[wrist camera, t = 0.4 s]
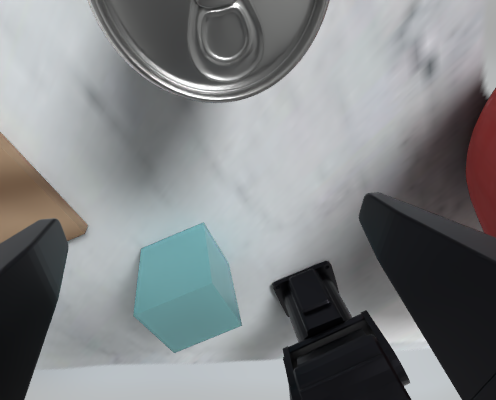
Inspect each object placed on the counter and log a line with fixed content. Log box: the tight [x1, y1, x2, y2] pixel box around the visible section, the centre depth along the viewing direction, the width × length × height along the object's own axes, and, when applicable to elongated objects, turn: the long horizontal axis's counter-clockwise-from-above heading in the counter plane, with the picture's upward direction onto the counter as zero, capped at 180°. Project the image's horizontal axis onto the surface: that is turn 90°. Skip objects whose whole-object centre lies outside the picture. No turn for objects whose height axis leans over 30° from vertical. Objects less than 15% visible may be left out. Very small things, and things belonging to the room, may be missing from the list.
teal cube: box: [133, 222, 242, 353], centre depth 25 cm, size 6×6×7 cm
